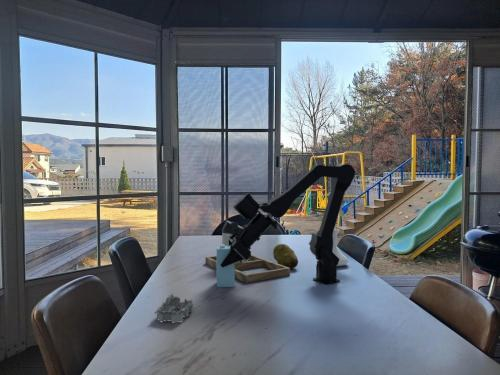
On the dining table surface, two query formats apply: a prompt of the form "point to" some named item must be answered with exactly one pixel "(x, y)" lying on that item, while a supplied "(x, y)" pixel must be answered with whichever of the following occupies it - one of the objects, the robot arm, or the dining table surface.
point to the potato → (285, 256)
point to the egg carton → (174, 309)
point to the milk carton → (224, 268)
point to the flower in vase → (342, 258)
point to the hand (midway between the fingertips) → (221, 264)
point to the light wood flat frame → (254, 263)
